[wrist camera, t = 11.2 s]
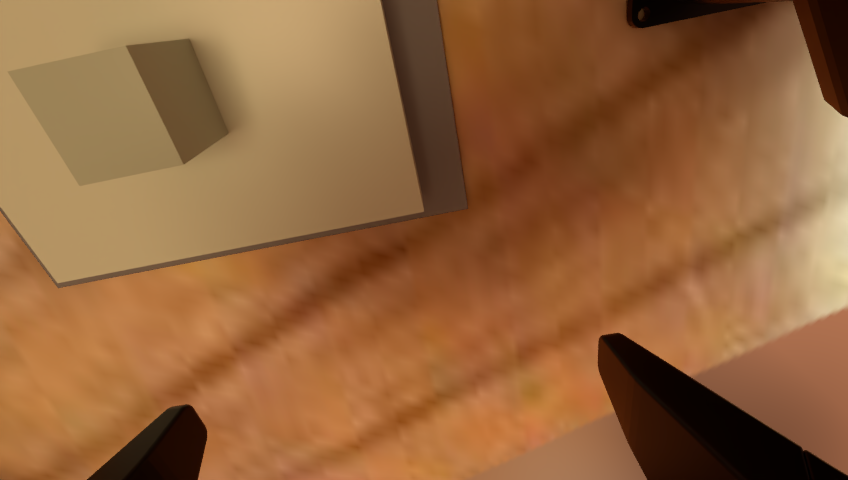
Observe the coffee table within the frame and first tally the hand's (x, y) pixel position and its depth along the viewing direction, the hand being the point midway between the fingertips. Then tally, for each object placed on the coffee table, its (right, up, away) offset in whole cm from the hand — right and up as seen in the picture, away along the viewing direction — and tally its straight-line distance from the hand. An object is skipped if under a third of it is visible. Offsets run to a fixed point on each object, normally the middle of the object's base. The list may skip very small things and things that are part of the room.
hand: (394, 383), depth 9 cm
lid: (-9, +10, +9) cm, 16 cm away
